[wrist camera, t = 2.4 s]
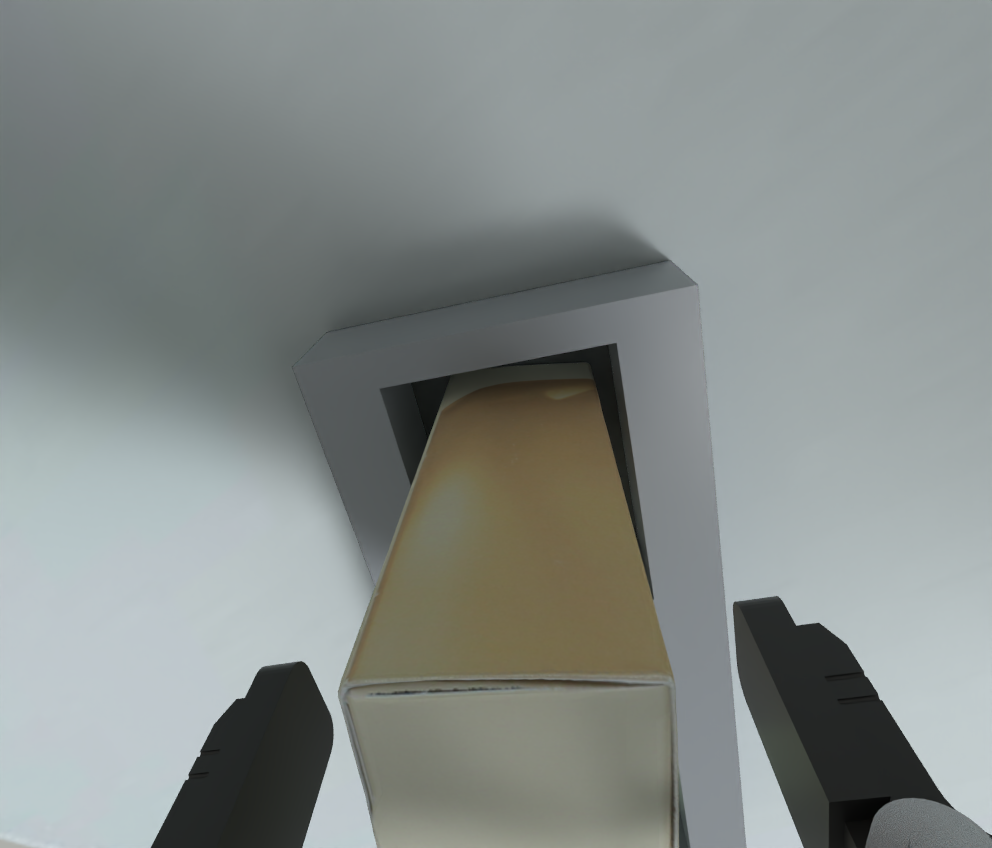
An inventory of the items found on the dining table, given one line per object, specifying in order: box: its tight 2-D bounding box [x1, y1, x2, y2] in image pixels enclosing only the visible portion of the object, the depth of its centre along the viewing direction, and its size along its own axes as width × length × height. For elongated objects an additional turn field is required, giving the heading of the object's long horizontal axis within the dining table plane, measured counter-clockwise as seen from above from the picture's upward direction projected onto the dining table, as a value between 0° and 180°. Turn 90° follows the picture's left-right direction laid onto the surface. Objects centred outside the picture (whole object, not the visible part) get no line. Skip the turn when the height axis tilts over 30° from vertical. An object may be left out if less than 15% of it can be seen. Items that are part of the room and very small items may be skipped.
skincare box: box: [338, 362, 679, 848], centre depth 14 cm, size 6×4×12 cm
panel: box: [292, 260, 746, 848], centre depth 21 cm, size 10×24×3 cm, turn 12°
